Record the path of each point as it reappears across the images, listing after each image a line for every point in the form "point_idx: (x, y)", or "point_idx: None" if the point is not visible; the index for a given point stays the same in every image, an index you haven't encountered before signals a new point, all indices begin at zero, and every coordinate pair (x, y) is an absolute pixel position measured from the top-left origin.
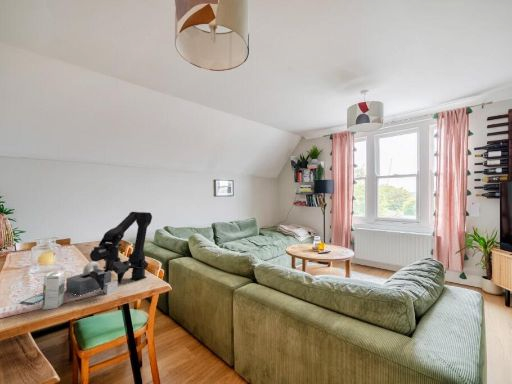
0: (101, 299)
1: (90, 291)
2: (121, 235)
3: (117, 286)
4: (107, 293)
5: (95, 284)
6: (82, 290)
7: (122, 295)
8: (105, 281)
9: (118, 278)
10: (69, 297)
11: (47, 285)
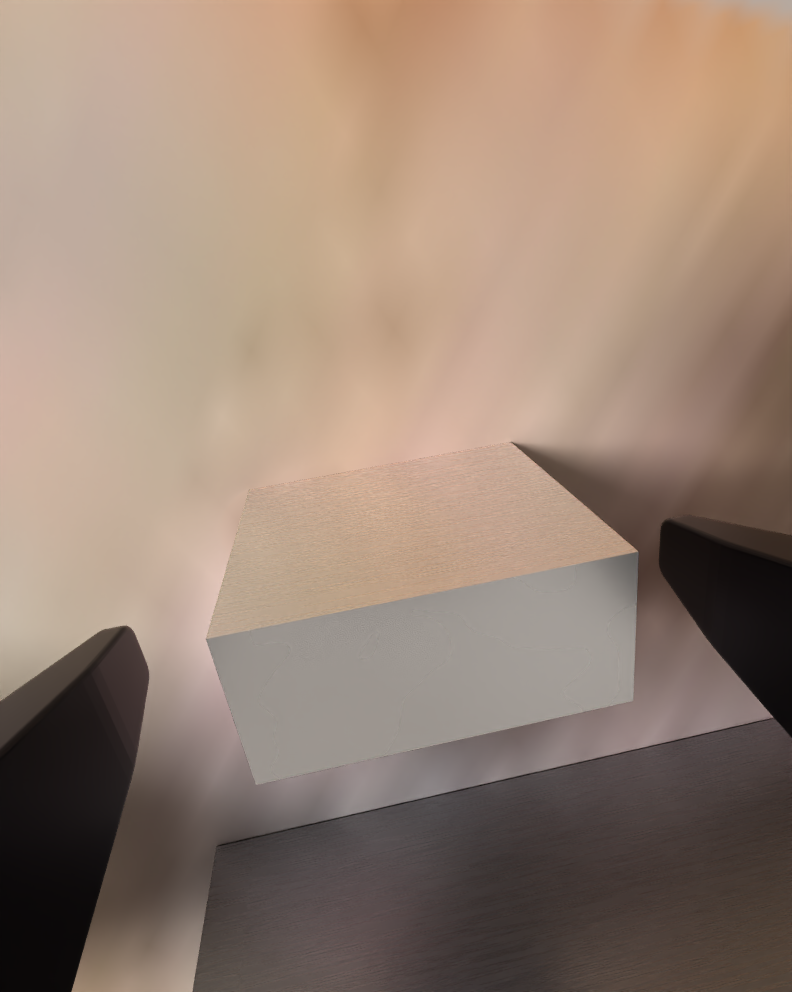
0: (723, 280)
1: (610, 772)
2: None
3: (237, 539)
4: (514, 451)
5: (569, 896)
6: None
7: (302, 30)
8: (338, 943)
9: (91, 826)
10: None
11: None
